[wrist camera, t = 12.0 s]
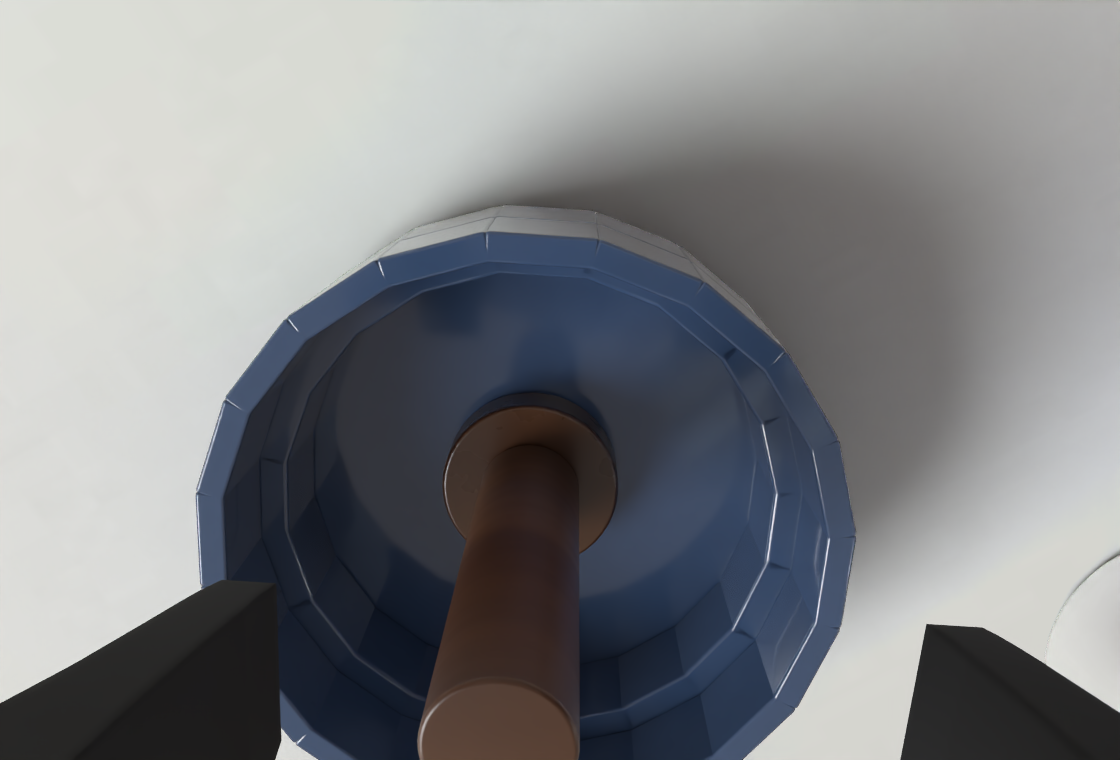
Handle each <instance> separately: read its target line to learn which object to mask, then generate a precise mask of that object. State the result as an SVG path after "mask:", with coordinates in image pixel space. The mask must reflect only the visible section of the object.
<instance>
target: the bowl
mask: <svg viewBox="0 0 1120 760" xmlns="http://www.w3.org/2000/svg"><path fill="white" fill-rule="evenodd" d="M524 392H537V393H545V394H551V395H554V396H558V397H561V398H564V399H566V400H569V401H571V402H572V403H574V404H576V405H578V406H580V407H581V408H582V409H584V410H585V411H586V412H588V413H589V414H590V415H591V416H592V417H593V418H594V419H595V420H596V421H597V422H598V423H599V425H600V426H601V427H602V428H603V430H604V431H605V433H606V435H607V436H608V438H609V440H610V443H611V445H612V447H613V451H614V454H615V458H616V466H617V475H618V498H617V504H616V508H615V511H614V514H613V516H612V518H611V521H610V523H609V525H608V526H607V528H606V529H605V531H604V532H603V534H602V535H601V536H600V537H599V538H598V540H597V541H596V542H595V543H594V544H593V545H591V546H590V547H589V548H588V549H587V550H585V551H584V552H582V553H581V554H579V659H580V753H579V759H578V760H743V759H744V758H745V757H746V756H747V755H748V754H749V753H750V752H751V751H752V750H753V749H755V748H756V747H757V746H758V745H759V744H760V743H761V742H762V741H763V740H764V739H765V738H766V737H767V736H768V735H769V734H770V733H772V732H773V731H774V730H775V729H776V728H777V727H778V726H779V725H780V724H781V723H782V722H783V721H784V720H785V719H786V718H787V717H789V716H790V715H791V714H792V713H793V712H794V710H795V708H797V707H798V705H799V703H800V702H801V700H802V698H803V696H804V694H805V693H806V691H807V689H808V687H809V685H810V683H811V682H812V680H813V678H814V676H815V674H816V673H817V671H818V669H819V667H820V665H821V663H822V662H823V660H824V658H825V656H826V654H827V653H828V651H829V649H830V647H831V645H832V643H833V642H834V640H835V638H836V636H837V634H838V633H839V630H840V628H839V627H841V625H842V619H843V613H844V607H845V601H846V595H847V589H848V583H849V577H850V571H851V566H852V560H853V554H854V548H855V542H856V536H855V535H856V529H855V523H854V518H853V512H852V507H851V501H850V496H849V491H848V485H847V480H846V474H845V469H844V463H843V458H842V452H841V447H840V442H839V441H838V438H837V435H836V433H835V431H834V430H833V428H832V426H831V425H830V423H829V421H828V419H827V418H826V416H825V414H824V413H823V411H822V409H821V407H820V406H819V404H818V402H817V401H816V399H815V397H814V396H813V394H812V392H811V390H810V389H809V387H808V385H807V384H806V382H805V380H804V378H803V377H802V375H801V373H800V372H799V370H798V368H797V366H796V365H795V363H794V361H793V360H792V358H791V356H790V354H789V353H788V352H787V351H786V349H785V348H784V347H783V346H782V345H781V343H780V342H779V341H778V340H777V339H776V337H775V336H774V335H773V334H772V332H771V331H770V330H769V329H768V328H767V326H766V325H765V324H764V323H763V322H762V320H761V319H760V318H759V317H758V315H757V314H756V313H755V312H754V311H753V309H752V308H751V307H750V306H749V305H748V303H747V302H746V301H745V300H744V299H743V298H742V297H740V296H739V295H738V294H737V293H736V292H735V291H733V290H732V289H731V288H730V287H729V286H728V285H726V284H725V283H724V282H723V281H722V280H721V279H719V278H718V277H717V276H716V275H715V274H714V273H712V272H711V271H710V270H709V269H708V268H707V267H705V266H704V265H703V264H702V263H701V262H700V261H698V260H697V259H696V258H695V257H694V256H692V255H691V254H690V253H689V252H688V251H687V250H685V249H684V248H683V247H681V246H678V245H677V244H676V243H674V242H671V241H669V240H666V239H664V238H661V237H659V236H656V235H654V234H651V233H649V232H646V231H644V230H642V229H639V228H637V227H634V226H632V225H629V224H627V223H624V222H622V221H619V220H617V219H614V218H612V217H609V216H607V215H604V214H602V213H596V214H595V211H593V210H579V209H564V208H549V207H534V206H518V205H504V206H496V207H492V208H488V209H484V210H481V211H477V212H473V213H469V214H465V215H461V216H457V217H454V218H450V219H446V220H442V221H438V222H434V223H430V224H426V225H423V226H419V227H418V228H416V229H412V230H410V231H409V232H407V233H406V234H404V235H403V236H401V237H400V238H398V239H397V240H395V241H394V242H392V243H391V244H389V245H387V246H386V247H384V248H383V249H381V250H380V251H378V252H377V253H375V254H374V255H372V256H371V257H369V258H368V259H366V260H365V261H363V262H361V263H360V264H358V265H357V266H355V267H354V268H352V269H351V270H349V271H348V272H346V273H345V274H343V275H342V276H341V277H339V278H338V279H337V280H335V281H334V282H333V283H331V284H330V285H329V286H327V287H326V288H325V289H323V290H322V291H321V292H319V293H318V294H317V295H315V296H314V297H313V298H311V299H310V300H309V301H307V302H306V303H305V304H303V305H302V306H301V307H299V308H298V309H297V310H295V311H294V312H293V313H291V314H290V315H289V316H288V317H287V318H286V319H285V320H283V322H282V323H281V324H280V326H279V327H278V328H277V330H276V331H275V332H274V334H273V335H272V336H271V338H270V339H269V340H268V342H267V343H266V344H265V345H264V347H263V348H262V349H261V351H260V352H259V353H258V355H257V356H256V357H255V359H254V360H253V361H252V363H251V364H250V365H249V366H248V368H247V369H246V370H245V372H244V373H243V374H242V376H241V377H240V378H239V380H238V381H237V382H236V384H235V385H234V386H233V388H232V389H231V390H230V391H229V393H228V394H227V395H226V399H225V400H224V401H223V404H222V407H221V410H220V413H219V417H218V420H217V423H216V426H215V430H214V433H213V436H212V439H211V443H210V446H209V449H208V452H207V456H206V459H205V462H204V465H203V469H202V472H201V475H200V478H199V482H198V485H197V493H196V510H197V530H198V549H199V569H200V584H201V585H202V587H201V588H202V589H204V588H206V587H208V586H210V585H212V584H214V583H216V582H218V581H220V580H233V581H249V582H265V583H276V590H277V622H278V653H279V684H280V716H281V728H282V729H283V730H284V732H285V733H286V734H287V735H288V736H289V738H290V739H291V740H292V741H293V742H296V745H297V746H299V747H300V748H302V749H303V750H305V751H306V752H308V753H309V754H311V755H312V756H314V757H315V758H317V759H318V760H420V758H419V753H418V744H417V739H418V731H419V727H420V723H421V719H422V715H423V711H424V707H425V703H426V699H427V695H428V691H429V687H430V683H431V679H432V675H433V671H434V667H435V663H436V659H437V655H438V651H439V647H440V644H441V640H442V636H443V632H444V628H445V624H446V620H447V616H448V612H449V608H450V604H451V600H452V596H453V592H454V588H455V584H456V580H457V576H458V572H459V568H460V564H461V560H462V556H463V552H464V548H465V544H466V540H465V539H464V538H463V537H462V536H461V534H460V533H459V532H458V531H457V529H456V528H455V526H454V525H453V523H452V521H451V519H450V517H449V515H448V512H447V509H446V506H445V503H444V498H443V489H442V480H443V471H444V467H445V463H446V460H447V457H448V454H449V451H450V449H451V446H452V443H453V441H454V439H455V436H456V435H457V433H458V431H459V430H460V428H461V427H462V425H463V424H464V423H465V422H466V420H467V419H468V418H469V417H470V416H471V415H472V414H473V413H474V412H476V411H477V410H478V409H480V408H481V407H483V406H484V405H486V404H488V403H489V402H491V401H493V400H496V399H498V398H501V397H503V396H507V395H511V394H516V393H524Z"/></svg>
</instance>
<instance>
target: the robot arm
mask: <svg viewBox="0 0 1120 760" xmlns="http://www.w3.org/2000/svg"><path fill="white" fill-rule="evenodd" d="M280 743H281V716H280V684H279V653H278V622H277V590H276V583H265V582H249V581H233V580H220V581H218V582H216V583H214V584H212V585H210V586H208V587H206V588H204V589H202V590H200V591H198V592H197V593H195V594H193V595H191V596H189V597H188V598H186V599H184V600H182V601H181V602H179V603H177V604H176V605H174V606H172V607H170V608H169V609H167V610H165V611H164V612H162V613H160V614H159V615H157V616H155V617H154V618H152V619H150V620H148V621H147V622H145V623H143V624H142V625H140V626H138V627H137V628H135V629H133V630H132V631H130V632H128V633H126V634H125V635H123V636H121V637H120V638H118V639H116V640H114V641H113V642H111V643H109V644H108V645H106V646H104V647H102V648H101V649H99V650H97V651H96V652H94V653H92V654H90V655H89V656H87V657H85V658H84V659H82V660H80V661H78V662H77V663H75V664H73V665H71V666H69V667H68V668H66V669H64V670H62V671H60V672H58V673H56V674H54V675H53V676H51V677H49V678H47V679H45V680H43V681H41V682H39V683H38V684H36V685H34V686H32V687H30V688H28V689H26V690H24V691H23V692H21V693H19V694H17V695H15V696H13V697H11V698H9V699H8V700H6V701H4V702H2V703H0V760H275V758H276V755H277V752H278V749H279V746H280ZM901 760H1120V712H1118V711H1117V710H1115V709H1114V708H1112V707H1110V706H1109V705H1107V704H1106V703H1104V702H1103V701H1101V700H1100V699H1098V698H1097V697H1095V696H1093V695H1092V694H1090V693H1089V692H1087V691H1086V690H1084V689H1083V688H1081V687H1080V686H1078V685H1076V684H1075V683H1073V682H1072V681H1070V680H1069V679H1067V678H1066V677H1064V676H1063V675H1061V674H1060V673H1058V672H1056V671H1055V670H1053V669H1052V668H1050V667H1049V666H1047V665H1046V664H1044V663H1042V662H1041V661H1039V660H1038V659H1036V658H1034V657H1033V656H1031V655H1030V654H1028V653H1026V652H1025V651H1023V650H1022V649H1020V648H1018V647H1017V646H1015V645H1013V644H1012V643H1010V642H1008V641H1006V640H1005V639H1003V638H1001V637H999V636H998V635H996V634H994V633H992V632H990V631H988V630H986V629H984V628H980V627H964V626H948V625H932V624H926V630H925V635H924V640H923V645H922V650H921V656H920V661H919V666H918V671H917V677H916V682H915V687H914V692H913V697H912V703H911V708H910V713H909V718H908V723H907V729H906V734H905V739H904V744H903V749H902V755H901Z"/></svg>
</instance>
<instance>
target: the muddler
mask: <svg viewBox="0 0 1120 760" xmlns="http://www.w3.org/2000/svg"><path fill="white" fill-rule="evenodd" d="M442 489H443V498H444V503H445V506H446V509H447V512H448V515H449V517H450V519H451V521H452V523H453V525H454V526H455V528H456V529H457V531H458V532H459V533H460V534H461V536H462V537H463V538H464V539H465V540H466V544H465V548H464V552H463V556H462V560H461V564H460V568H459V572H458V576H457V580H456V584H455V588H454V592H453V596H452V600H451V604H450V608H449V612H448V616H447V620H446V624H445V628H444V632H443V636H442V640H441V644H440V647H439V651H438V655H437V659H436V663H435V667H434V671H433V675H432V679H431V683H430V687H429V691H428V695H427V699H426V703H425V707H424V711H423V715H422V719H421V723H420V727H419V731H418V739H417V744H418V753H419V758H420V760H578V759H579V753H580V659H579V554H581V553H582V552H584V551H585V550H587V549H588V548H589V547H590V546H591V545H593V544H594V543H595V542H596V541H597V540H598V538H599V537H600V536H601V535H602V534H603V532H604V531H605V529H606V528H607V526H608V525H609V523H610V521H611V518H612V516H613V514H614V511H615V508H616V504H617V498H618V475H617V466H616V458H615V454H614V451H613V447H612V445H611V443H610V440H609V438H608V436H607V435H606V433H605V431H604V430H603V428H602V427H601V426H600V425H599V423H598V422H597V421H596V420H595V419H594V418H593V417H592V416H591V415H590V414H589V413H588V412H586V411H585V410H584V409H582V408H581V407H580V406H578V405H576V404H574V403H572V402H571V401H569V400H566V399H564V398H561V397H558V396H554V395H551V394H545V393H537V392H524V393H516V394H511V395H507V396H503V397H501V398H498V399H496V400H493V401H491V402H489V403H488V404H486V405H484V406H483V407H481V408H480V409H478V410H477V411H476V412H474V413H473V414H472V415H471V416H470V417H469V418H468V419H467V420H466V422H465V423H464V424H463V425H462V427H461V428H460V430H459V431H458V433H457V435H456V436H455V439H454V441H453V443H452V446H451V449H450V451H449V454H448V457H447V460H446V463H445V467H444V471H443V480H442Z"/></svg>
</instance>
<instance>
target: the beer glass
mask: <svg viewBox="0 0 1120 760" xmlns="http://www.w3.org/2000/svg"><path fill="white" fill-rule="evenodd" d="M1045 664H1046V665H1047V666H1049V667H1050V668H1052V669H1053V670H1055V671H1056V672H1058V673H1060V674H1061V675H1063V676H1064V677H1066V678H1067V679H1069V680H1070V681H1072V682H1073V683H1075V684H1076V685H1078V686H1080V687H1081V688H1083V689H1084V690H1086V691H1087V692H1089V693H1090V694H1092V695H1093V696H1095V697H1097V698H1098V699H1100V700H1101V701H1103V702H1104V703H1106V704H1107V705H1109V706H1110V707H1112V708H1114V709H1115V710H1117V711H1118V712H1120V555H1118V556H1117V557H1115V558H1113V559H1112V560H1110V561H1109V562H1107V563H1106V564H1104V565H1103V566H1102V567H1100V568H1099V569H1098V570H1096V571H1095V572H1094V573H1093V574H1091V575H1090V576H1089V577H1088V578H1087V579H1086V580H1085V581H1084V582H1083V583H1082V584H1081V585H1080V586H1079V587H1078V588H1077V589H1076V591H1075V592H1074V593H1073V594H1072V595H1071V597H1070V598H1069V599H1068V601H1067V602H1066V604H1065V605H1064V606H1063V608H1062V610H1061V611H1060V613H1059V615H1058V617H1057V619H1056V621H1055V623H1054V625H1053V627H1052V630H1051V633H1050V636H1049V639H1048V643H1047V647H1046V653H1045Z"/></svg>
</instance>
